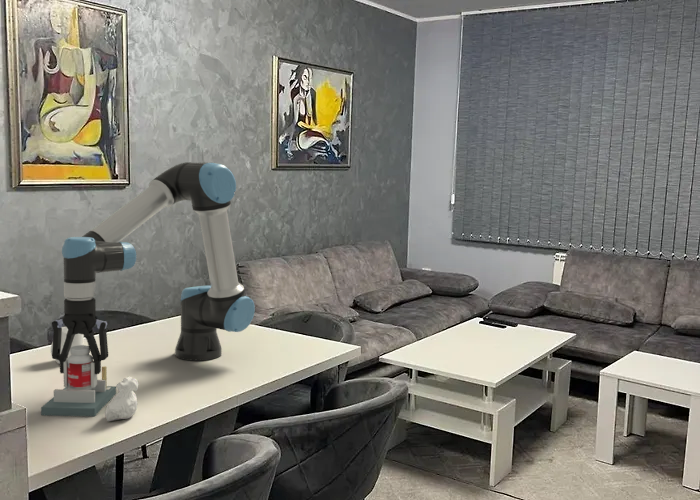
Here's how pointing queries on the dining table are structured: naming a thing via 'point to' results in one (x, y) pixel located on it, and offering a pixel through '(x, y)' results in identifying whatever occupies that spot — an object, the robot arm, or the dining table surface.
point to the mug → (76, 341)
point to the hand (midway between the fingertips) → (80, 385)
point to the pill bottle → (79, 368)
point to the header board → (80, 400)
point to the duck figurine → (123, 400)
